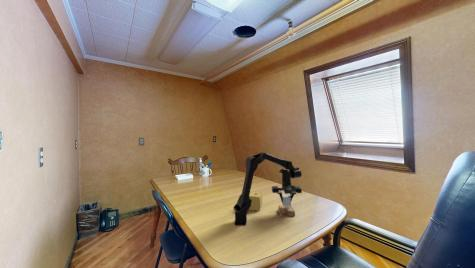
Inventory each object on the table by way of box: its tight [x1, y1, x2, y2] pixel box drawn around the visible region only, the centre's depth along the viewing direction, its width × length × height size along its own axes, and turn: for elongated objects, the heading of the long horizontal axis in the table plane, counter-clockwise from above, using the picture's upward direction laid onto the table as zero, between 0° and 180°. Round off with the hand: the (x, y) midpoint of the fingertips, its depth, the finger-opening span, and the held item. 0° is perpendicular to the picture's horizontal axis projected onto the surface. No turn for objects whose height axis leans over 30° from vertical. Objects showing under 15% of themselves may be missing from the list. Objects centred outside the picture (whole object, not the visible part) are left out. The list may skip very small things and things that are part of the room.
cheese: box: [248, 191, 264, 212], centre depth 137 cm, size 10×11×10 cm
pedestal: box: [278, 205, 296, 217], centre depth 128 cm, size 9×9×3 cm
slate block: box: [281, 194, 292, 206], centre depth 127 cm, size 5×5×5 cm
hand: (286, 202), depth 127 cm, fingers closed on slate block, 5 cm apart
